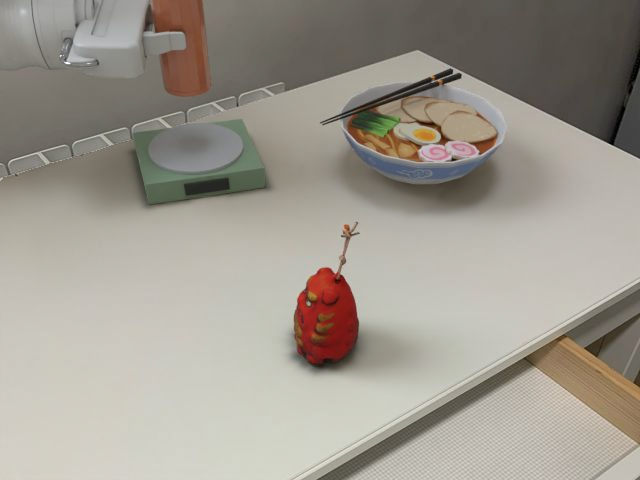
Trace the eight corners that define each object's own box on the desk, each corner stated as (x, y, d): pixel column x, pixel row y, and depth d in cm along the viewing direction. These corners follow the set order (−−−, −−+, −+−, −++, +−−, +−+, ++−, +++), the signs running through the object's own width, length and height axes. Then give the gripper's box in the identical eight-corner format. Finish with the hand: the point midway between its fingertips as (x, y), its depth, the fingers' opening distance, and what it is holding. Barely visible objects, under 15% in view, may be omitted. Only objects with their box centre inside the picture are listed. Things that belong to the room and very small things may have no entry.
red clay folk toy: (287, 326, 75) (284, 208, 63) (347, 317, 76) (355, 200, 64) (302, 375, 70) (301, 257, 58) (366, 364, 71) (378, 247, 59)
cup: (186, 101, 83) (170, -18, 73) (154, 86, 86) (134, -31, 75) (220, 85, 86) (210, -31, 76) (189, 71, 88) (174, -44, 78)
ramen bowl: (401, 238, 85) (409, 179, 79) (299, 160, 97) (298, 104, 90) (535, 178, 95) (551, 121, 88) (427, 114, 106) (435, 59, 100)
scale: (149, 206, 89) (144, 182, 86) (136, 152, 97) (131, 129, 95) (265, 188, 92) (264, 165, 89) (243, 138, 100) (241, 115, 98)
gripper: (47, 34, 71) (179, 33, 71) (75, -32, 83) (187, -33, 84) (64, 95, 75) (187, 92, 76) (88, 23, 88) (193, 22, 89)
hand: (187, 26), depth 80 cm, fingers closed on cup, 6 cm apart
